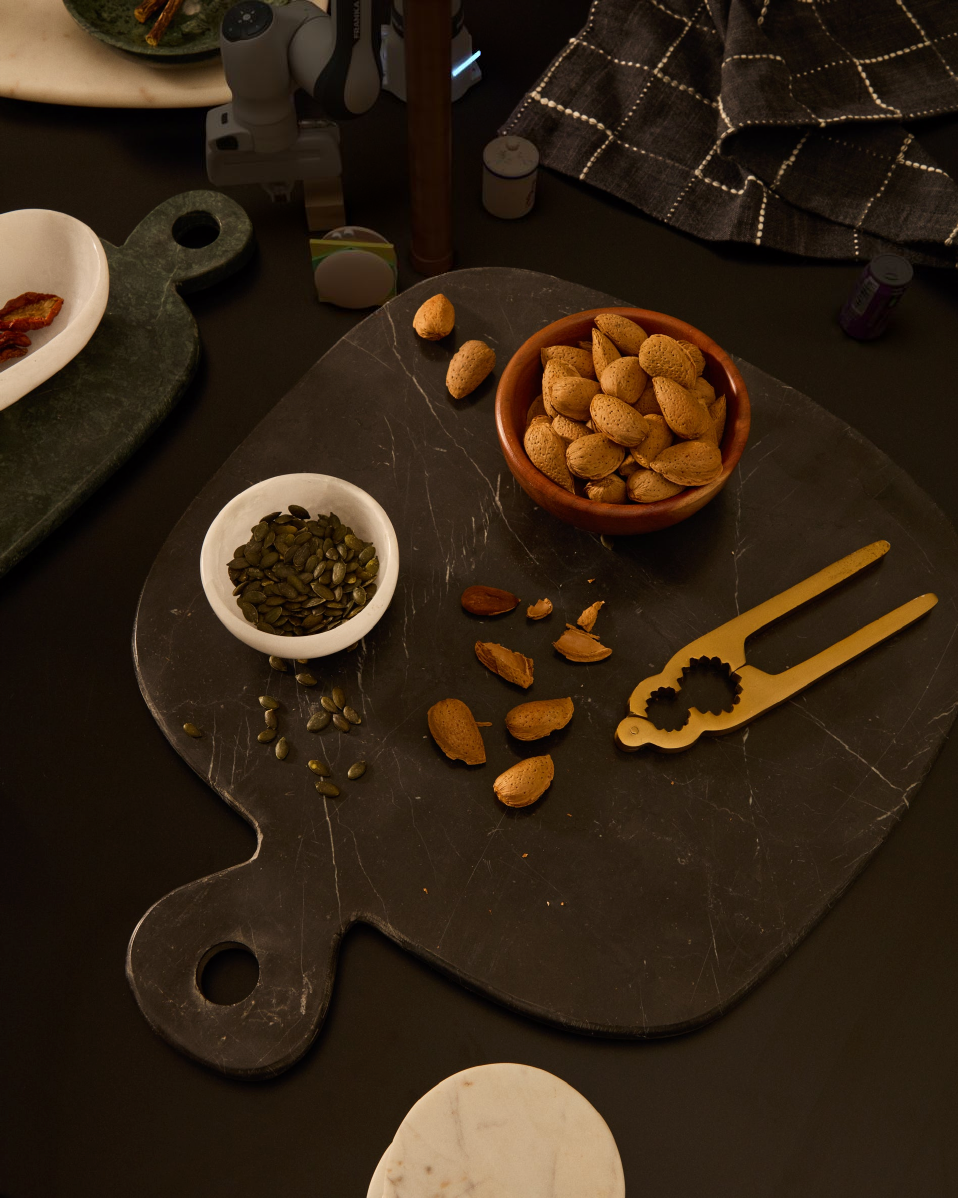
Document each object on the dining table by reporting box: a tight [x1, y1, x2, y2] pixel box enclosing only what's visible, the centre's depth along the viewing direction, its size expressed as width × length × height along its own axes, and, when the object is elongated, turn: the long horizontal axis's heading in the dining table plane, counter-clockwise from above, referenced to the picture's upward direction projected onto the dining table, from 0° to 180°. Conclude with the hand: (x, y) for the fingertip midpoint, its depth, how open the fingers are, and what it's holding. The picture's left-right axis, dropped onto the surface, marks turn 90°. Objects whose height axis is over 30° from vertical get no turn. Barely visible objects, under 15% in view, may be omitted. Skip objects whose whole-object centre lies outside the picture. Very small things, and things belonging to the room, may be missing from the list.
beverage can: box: [838, 252, 914, 341], centre depth 147 cm, size 7×7×12 cm
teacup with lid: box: [481, 135, 541, 220], centre depth 156 cm, size 12×9×12 cm
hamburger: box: [309, 225, 398, 310], centre depth 146 cm, size 12×8×12 cm
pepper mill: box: [402, 0, 454, 277], centre depth 132 cm, size 7×7×50 cm
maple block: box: [302, 176, 347, 232], centre depth 156 cm, size 6×6×5 cm
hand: (281, 199), depth 154 cm, fingers closed
